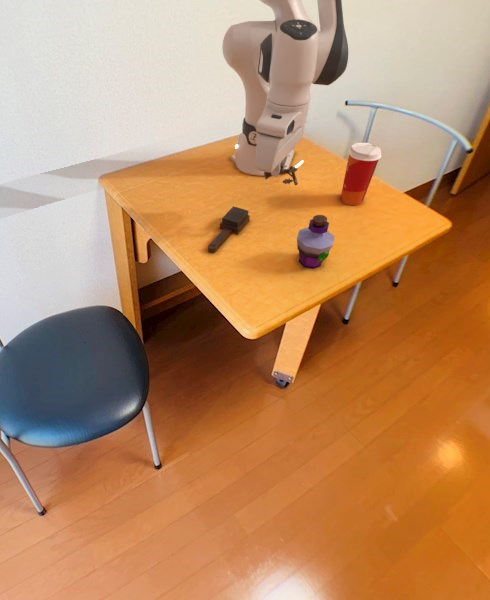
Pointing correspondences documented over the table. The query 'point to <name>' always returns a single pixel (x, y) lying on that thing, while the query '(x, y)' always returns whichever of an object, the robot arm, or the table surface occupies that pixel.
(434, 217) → the table surface
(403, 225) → the table surface
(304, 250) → the potion bottle
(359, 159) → the coffee cup
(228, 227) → the mallet
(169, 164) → the table surface
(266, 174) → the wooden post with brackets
